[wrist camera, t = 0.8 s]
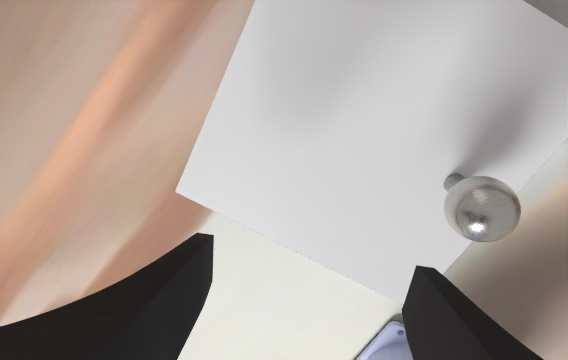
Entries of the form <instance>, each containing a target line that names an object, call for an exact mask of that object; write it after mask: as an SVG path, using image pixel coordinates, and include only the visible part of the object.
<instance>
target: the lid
mask: <svg viewBox="0 0 568 360" xmlns="http://www.w3.org/2000/svg"><path fill="white" fill-rule="evenodd" d="M567 138H568V28H567V27H565V26H564V25H562V24H560V23H559V22H557V21H556V20H554V19H552V18H551V17H549V16H548V15H546V14H544V13H543V12H541V11H540V10H538V9H536V8H535V7H533V6H532V5H530V4H528V3H527V2H525V1H524V0H255V3H254V5H253V7H252V10H251V12H250V15H249V17H248V19H247V22H246V24H245V26H244V29H243V31H242V34H241V36H240V38H239V41H238V43H237V46H236V48H235V50H234V53H233V55H232V58H231V60H230V62H229V65H228V67H227V69H226V72H225V74H224V77H223V79H222V81H221V84H220V86H219V89H218V91H217V93H216V96H215V98H214V100H213V103H212V105H211V108H210V110H209V112H208V115H207V117H206V120H205V122H204V124H203V127H202V129H201V132H200V134H199V136H198V139H197V141H196V143H195V146H194V148H193V151H192V153H191V155H190V158H189V160H188V163H187V165H186V167H185V170H184V172H183V174H182V177H181V179H180V182H179V184H178V186H177V189H176V191H175V192H177V193H179V194H181V195H183V196H185V197H187V198H189V199H191V200H193V201H195V202H197V203H199V204H201V205H203V206H205V207H207V208H209V209H211V210H213V211H215V212H217V213H219V214H221V215H223V216H225V217H227V218H229V219H231V220H233V221H235V222H237V223H239V224H241V225H243V226H245V227H247V228H249V229H251V230H253V231H255V232H257V233H259V234H261V235H263V236H265V237H267V238H269V239H271V240H273V241H275V242H277V243H279V244H281V245H283V246H285V247H287V248H289V249H291V250H293V251H295V252H298V253H300V254H302V255H304V256H306V257H308V258H310V259H312V260H314V261H316V262H318V263H320V264H322V265H324V266H326V267H328V268H330V269H332V270H334V271H336V272H338V273H340V274H342V275H344V276H346V277H348V278H350V279H352V280H354V281H356V282H358V283H360V284H362V285H364V286H366V287H368V288H370V289H372V290H374V291H376V292H378V293H380V294H382V295H384V296H386V297H388V298H390V299H392V300H394V301H396V302H398V303H400V304H402V305H404V302H405V299H406V296H407V293H408V289H409V286H410V283H411V280H412V277H413V274H414V271H415V268H416V265H418V266H425V267H432V268H435V269H436V270H437V271H439V272H440V273H441V274H443V273H444V272H445V271H446V270H447V269H448V268H449V267H450V266H451V265H452V263H453V262H454V261H455V260H456V259H457V258H458V257H459V256H460V255H461V254H462V253H463V251H464V250H465V249H466V248H467V247H468V246H469V245H470V244H471V243H472V242H473V241H476V242H492V241H496V240H499V239H501V238H504V237H505V236H507V235H508V234H510V233H511V232H512V231H513V230H514V229H515V227H516V226H517V224H518V222H519V219H520V215H521V206H520V202H519V199H518V197H517V195H516V194H517V193H518V191H519V190H520V189H521V188H522V187H523V186H524V185H525V184H526V183H527V182H528V181H529V179H530V178H531V177H532V176H533V175H534V174H535V173H536V172H537V171H538V170H539V169H540V167H541V166H542V165H543V164H544V163H545V162H546V161H547V160H548V159H549V158H550V157H551V155H552V154H553V153H554V152H555V151H556V150H557V149H558V148H559V147H560V146H561V145H562V143H563V142H564V141H565V140H566V139H567Z"/></svg>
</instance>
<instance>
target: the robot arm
mask: <svg viewBox="0 0 568 360" xmlns="http://www.w3.org/2000/svg"><path fill="white" fill-rule="evenodd" d="M213 241H214V235H209V234H202V233H196V234H194V235H193V236H191V237H190V238H188V239H187V240H186V241H184V242H183V243H181V244H180V245H178V246H177V247H175V248H174V249H172V250H171V251H169V252H168V253H166V254H165V255H163V256H162V257H160V258H159V259H157V260H156V261H154V262H152V263H151V264H149V265H147V266H146V267H144V268H142V269H141V270H139V271H137V272H136V273H134V274H132V275H130V276H129V277H127V278H125V279H123V280H121V281H119V282H117V283H115V284H113V285H111V286H109V287H107V288H105V289H103V290H101V291H98V292H96V293H94V294H92V295H89V296H87V297H84V298H82V299H79V300H77V301H75V302H72V303H70V304H67V305H65V306H62V307H60V308H57V309H54V310H51V311H48V312H46V313H43V314H40V315H37V316H34V317H31V318H28V319H25V320H21V321H18V322H15V323H12V324H8V325H5V326H1V327H0V360H177V359H178V357H179V355H180V353H181V351H182V349H183V347H184V345H185V343H186V341H187V339H188V337H189V335H190V333H191V331H192V329H193V327H194V325H195V323H196V321H197V319H198V316H199V314H200V312H201V310H202V308H203V306H204V303H205V301H206V298H207V295H208V292H209V289H210V286H211V283H212V275H213ZM402 315H403V321H404V325H403V324H401V323H399V322H397V321H392V322H390V323H388V324H387V325H386V327H385V328H384V329H383V330H382V331H381V332H380V333H379V334H378V335H377V337H376V338H375V339H374V340H373V341H372V342H371V343H370V344H369V345H368V347H367V348H366V349H365V350H364V351H363V352H362V353H361V354H360V355H359V357H358V358H357V359H356V360H544V359H542V358H541V357H539V356H538V355H537V354H535V353H534V352H533V351H531V350H530V349H528V348H527V347H526V346H524V345H523V344H522V343H521V342H519V341H518V340H517V339H515V338H514V337H513V336H512V335H511V334H509V333H508V332H507V331H506V330H504V329H503V328H502V327H501V326H500V325H498V324H497V323H496V322H495V321H494V320H492V319H491V318H490V317H489V316H488V315H487V314H485V313H484V312H483V311H482V310H481V309H480V308H479V307H477V306H476V305H475V304H474V303H473V302H472V301H471V300H470V299H469V298H467V297H466V296H465V295H464V294H463V293H462V292H461V291H460V290H459V289H458V288H457V287H455V286H454V285H453V284H452V283H451V282H450V281H449V280H448V279H447V278H446V277H444V276H443V275H442V274H441V273H440V272H439V271H437V270H436V269H435V268H432V267H425V266H418V265H416V268H415V271H414V274H413V277H412V280H411V283H410V286H409V289H408V293H407V296H406V299H405V302H404V305H403V308H402ZM399 330H402V331H399Z"/></svg>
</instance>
